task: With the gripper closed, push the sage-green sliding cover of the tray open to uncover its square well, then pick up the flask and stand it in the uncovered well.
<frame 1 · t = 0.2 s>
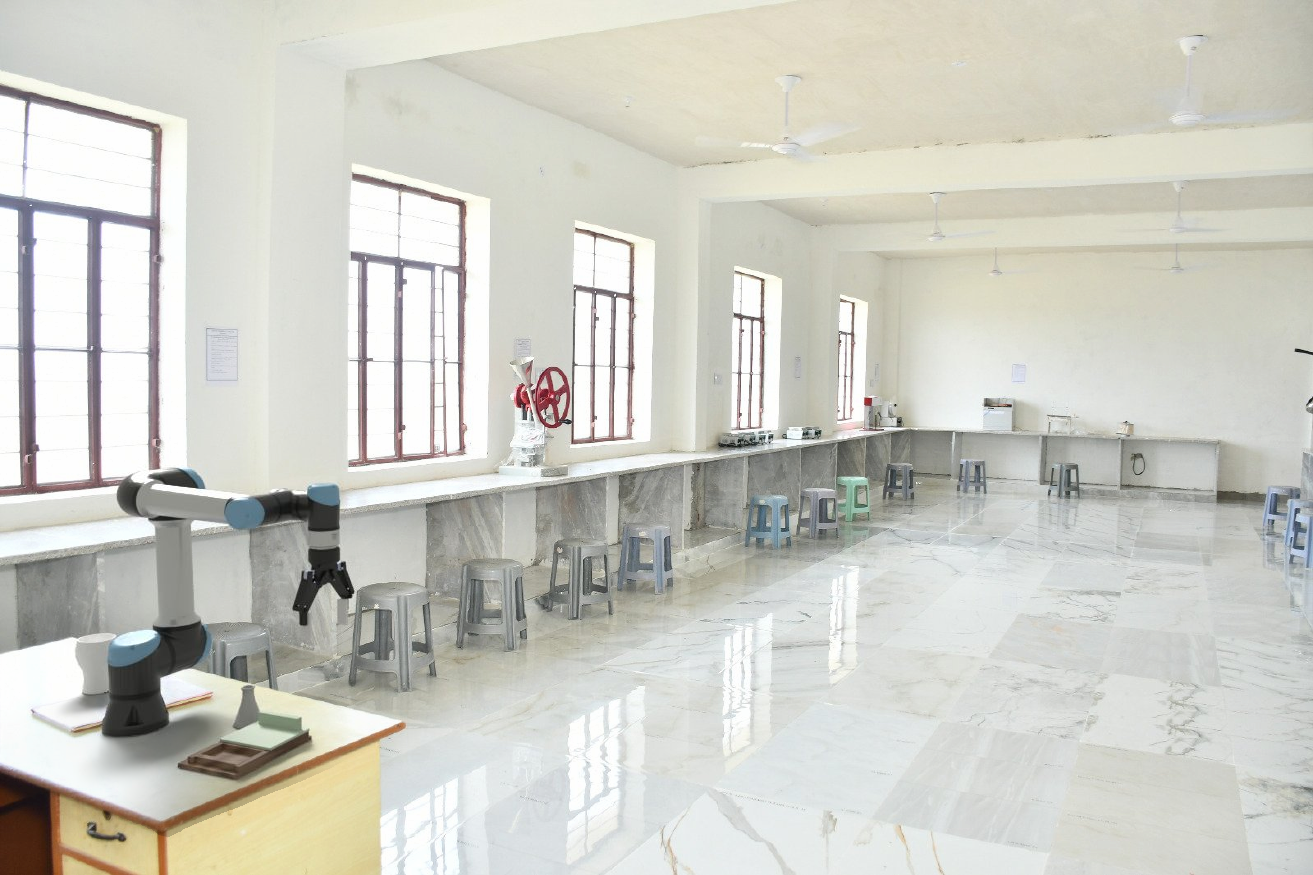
hand: (324, 631, 243), 27 cm above the table, fingers open, 13 cm apart
tray: (247, 753, 234), on the table
cup: (98, 690, 275), on the table
cover: (265, 728, 238), point 4 cm above the table, slide at 0.0 cm
flask: (248, 725, 252), on the table
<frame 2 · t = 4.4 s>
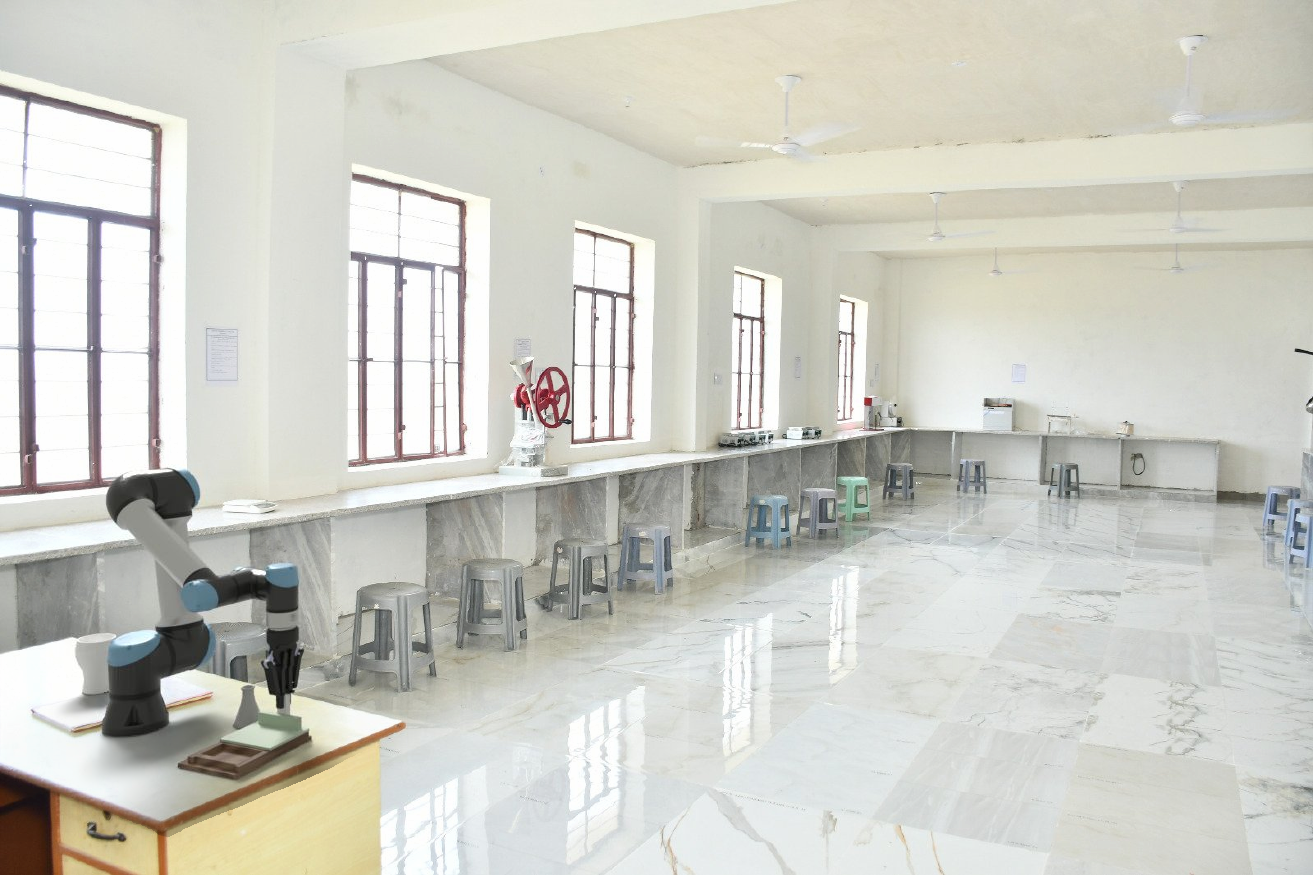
hand: (283, 719, 244), 4 cm above the table, fingers closed
cover: (265, 728, 238), point 4 cm above the table, slide at 0.0 cm, touching gripper
everything else where it was.
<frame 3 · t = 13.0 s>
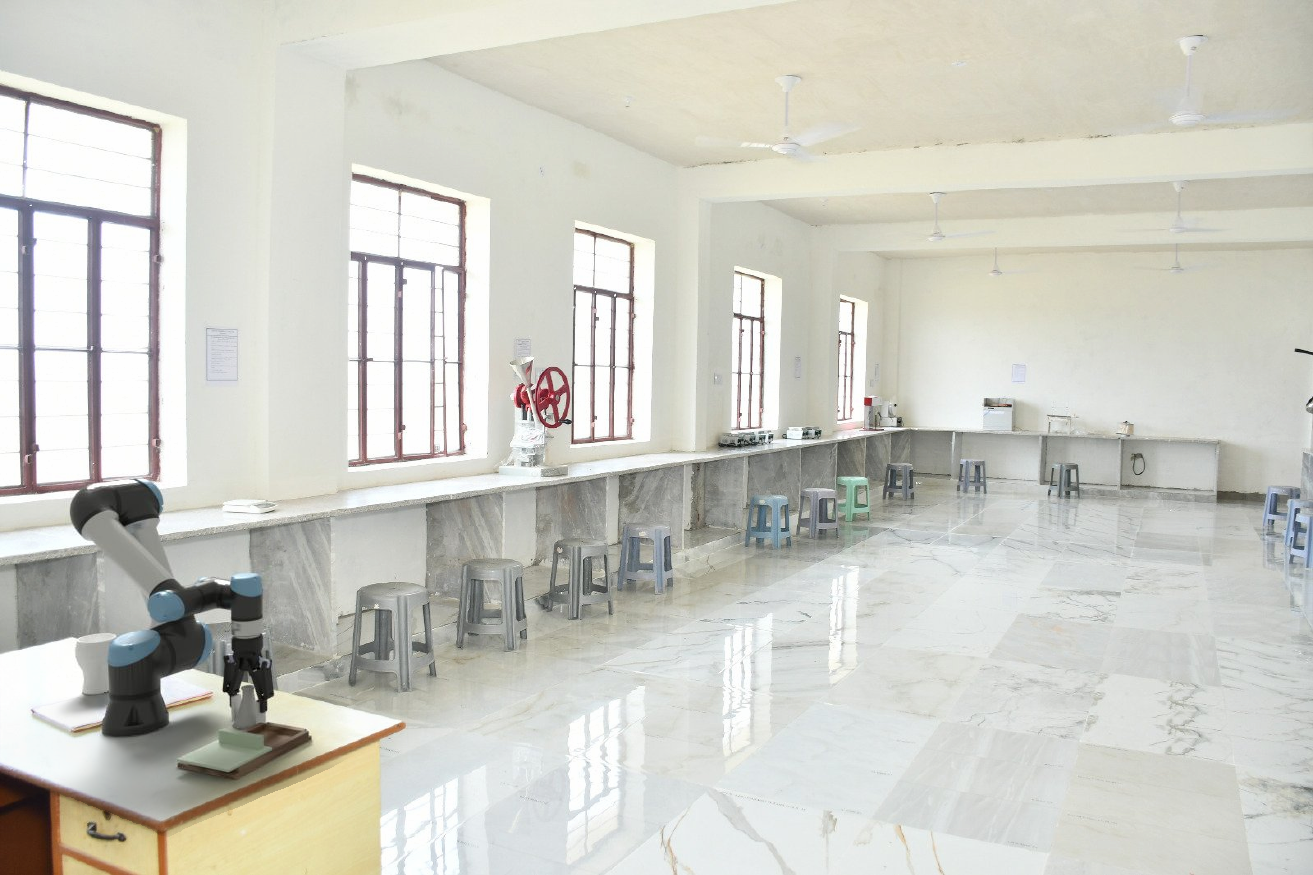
hand: (248, 722, 252), 1 cm above the table, fingers closed on flask, 7 cm apart
cover: (224, 748, 226), point 4 cm above the table, slide at 12.9 cm
flask: (248, 725, 252), on the table, touching gripper
everything else where it was.
when the fingers open (4 cm above the table, at t = 18.3 s): flask drops 2 cm, resting on tray.
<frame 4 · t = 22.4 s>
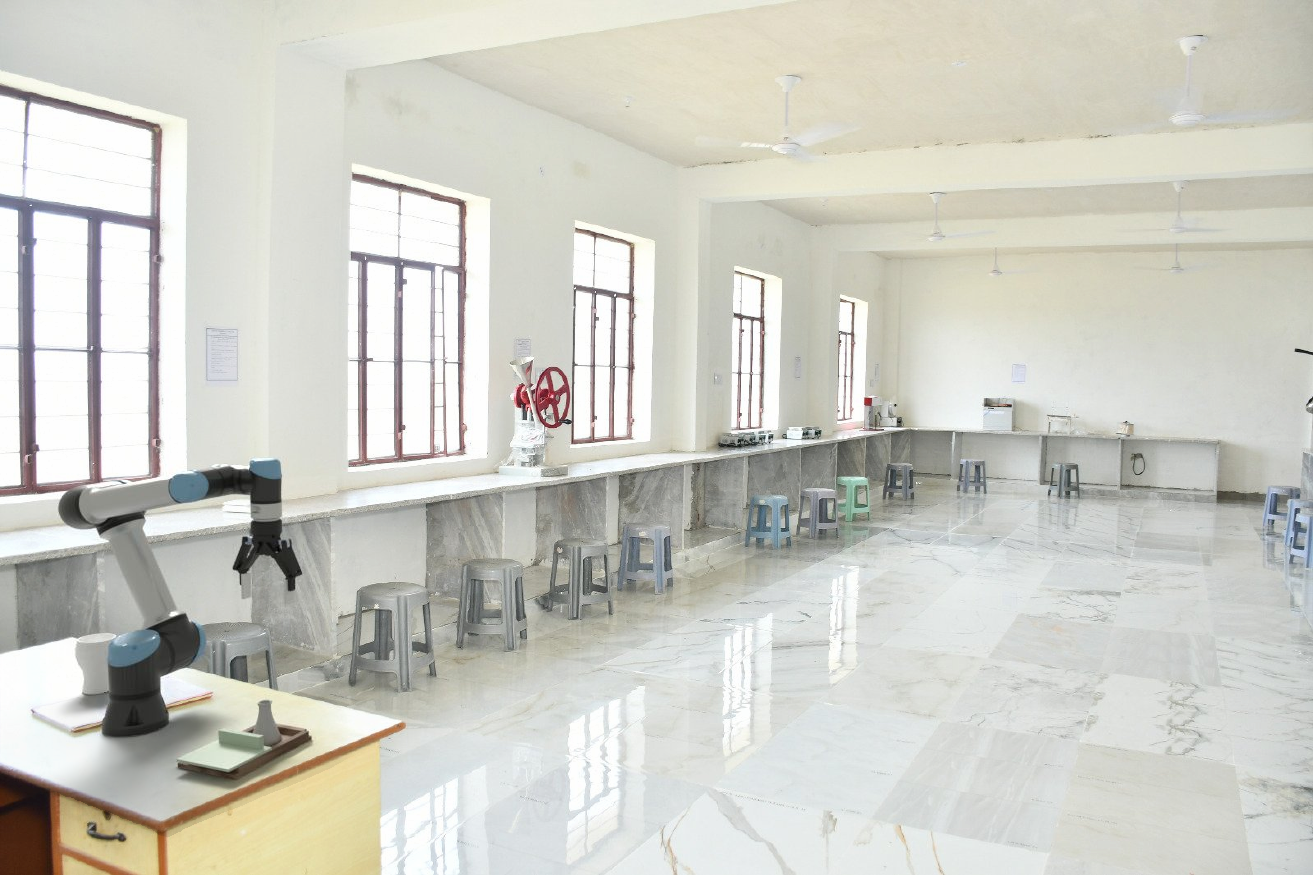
hand: (267, 600, 252), 32 cm above the table, fingers open, 13 cm apart
flask: (265, 742, 238), point 1 cm above the table, touching tray
everything else where it was.
at the end: cover slide at 12.9 cm; flask inside the target area on the tray (0.1 cm from its centre), point 0.8 cm above the tray's base; flask tilted 0° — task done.
